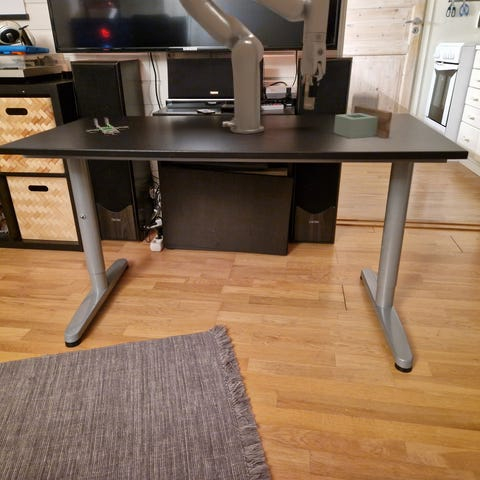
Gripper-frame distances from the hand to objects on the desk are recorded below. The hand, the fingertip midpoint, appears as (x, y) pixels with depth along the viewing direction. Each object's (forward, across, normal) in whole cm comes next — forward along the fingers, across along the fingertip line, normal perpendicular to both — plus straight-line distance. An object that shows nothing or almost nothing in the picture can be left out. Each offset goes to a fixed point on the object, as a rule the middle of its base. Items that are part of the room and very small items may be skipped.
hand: (309, 96), depth 143 cm
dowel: (+4, 0, 0) cm, 4 cm away
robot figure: (+16, +38, +69) cm, 80 cm away
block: (+11, -16, -10) cm, 21 cm away
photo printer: (+12, +7, -29) cm, 32 cm away
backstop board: (+12, -16, -7) cm, 21 cm away
